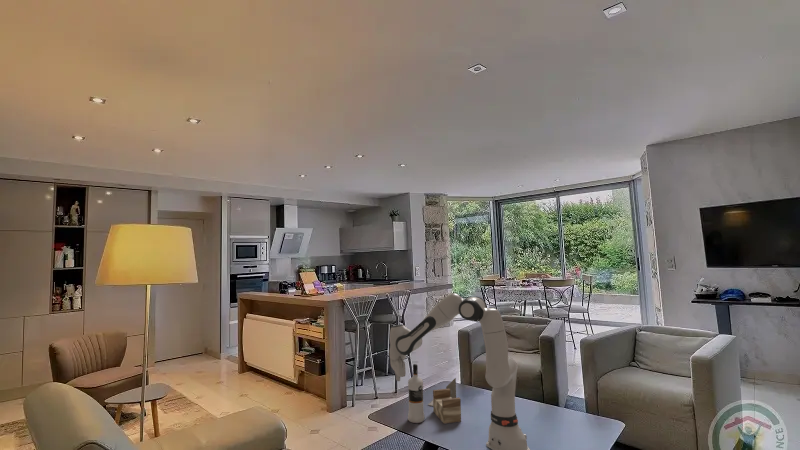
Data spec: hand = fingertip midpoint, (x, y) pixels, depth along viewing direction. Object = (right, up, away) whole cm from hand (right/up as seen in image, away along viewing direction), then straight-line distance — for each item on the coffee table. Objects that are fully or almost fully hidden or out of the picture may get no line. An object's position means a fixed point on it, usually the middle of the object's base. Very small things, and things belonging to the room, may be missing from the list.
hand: (398, 380), depth 209 cm
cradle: (+27, -22, +5) cm, 36 cm away
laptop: (+27, -25, +26) cm, 45 cm away
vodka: (+10, -22, +1) cm, 25 cm away
